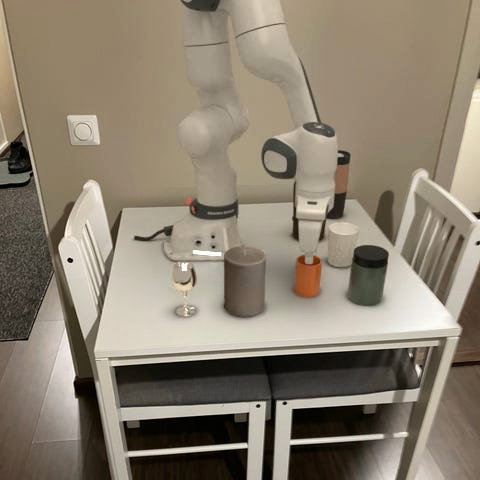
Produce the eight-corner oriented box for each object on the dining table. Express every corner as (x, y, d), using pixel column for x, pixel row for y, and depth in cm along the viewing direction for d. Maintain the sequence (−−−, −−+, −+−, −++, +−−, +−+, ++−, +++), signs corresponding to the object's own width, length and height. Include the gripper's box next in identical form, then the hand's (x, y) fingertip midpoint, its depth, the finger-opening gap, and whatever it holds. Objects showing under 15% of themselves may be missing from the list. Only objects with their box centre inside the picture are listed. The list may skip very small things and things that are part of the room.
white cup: (353, 270, 148) (358, 235, 142) (324, 267, 149) (327, 233, 143) (354, 257, 154) (359, 223, 149) (326, 254, 155) (329, 221, 150)
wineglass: (178, 319, 127) (174, 274, 120) (170, 307, 131) (167, 262, 125) (201, 314, 129) (199, 269, 122) (193, 302, 133) (191, 258, 127)
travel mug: (317, 210, 182) (323, 150, 171) (340, 210, 183) (347, 149, 172) (323, 220, 176) (329, 157, 165) (346, 219, 177) (354, 156, 166)
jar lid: (361, 269, 126) (362, 261, 125) (347, 254, 133) (348, 246, 132) (393, 265, 128) (394, 258, 127) (378, 250, 134) (379, 243, 133)
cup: (298, 298, 135) (300, 267, 130) (290, 285, 140) (292, 255, 136) (322, 295, 136) (325, 264, 132) (314, 283, 141) (317, 253, 137)
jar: (355, 307, 132) (361, 264, 125) (342, 290, 138) (347, 248, 132) (387, 303, 133) (395, 260, 127) (373, 286, 140) (379, 245, 134)
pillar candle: (215, 307, 131) (214, 250, 123) (242, 292, 138) (242, 236, 129) (247, 322, 126) (248, 263, 118) (273, 305, 132) (275, 248, 124)
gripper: (305, 182, 134) (303, 235, 141) (295, 214, 117) (292, 271, 125) (331, 184, 133) (327, 237, 140) (324, 216, 116) (320, 274, 123)
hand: (311, 253), depth 132 cm, fingers open, 8 cm apart
